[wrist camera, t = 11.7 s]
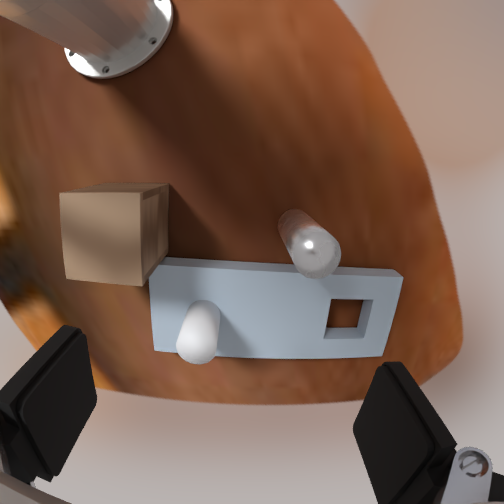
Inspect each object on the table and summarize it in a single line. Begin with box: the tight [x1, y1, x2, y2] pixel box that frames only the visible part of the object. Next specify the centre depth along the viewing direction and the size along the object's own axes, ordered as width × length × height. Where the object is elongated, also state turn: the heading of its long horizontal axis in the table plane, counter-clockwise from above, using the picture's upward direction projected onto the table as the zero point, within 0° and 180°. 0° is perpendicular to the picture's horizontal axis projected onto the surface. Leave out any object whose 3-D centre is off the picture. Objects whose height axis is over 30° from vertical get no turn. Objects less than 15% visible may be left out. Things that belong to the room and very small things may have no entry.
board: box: [149, 257, 403, 364], centre depth 29 cm, size 10×26×8 cm, turn 86°
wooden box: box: [60, 183, 169, 286], centre depth 26 cm, size 7×7×9 cm
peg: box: [278, 209, 341, 279], centre depth 26 cm, size 3×3×10 cm
